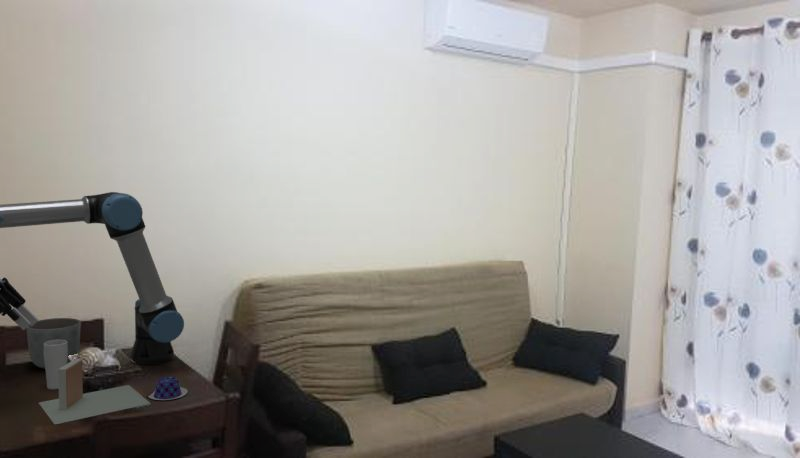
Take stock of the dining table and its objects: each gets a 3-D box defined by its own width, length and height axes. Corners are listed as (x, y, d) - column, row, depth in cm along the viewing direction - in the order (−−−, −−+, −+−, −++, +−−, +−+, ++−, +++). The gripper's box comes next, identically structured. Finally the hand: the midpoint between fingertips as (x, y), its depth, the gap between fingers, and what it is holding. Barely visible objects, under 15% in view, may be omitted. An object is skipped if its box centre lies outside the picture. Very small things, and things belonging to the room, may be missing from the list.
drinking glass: (39, 389, 200) (38, 343, 198) (59, 383, 206) (58, 338, 204) (53, 393, 197) (52, 346, 195) (73, 386, 203) (72, 341, 201)
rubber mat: (128, 386, 204) (128, 384, 204) (150, 405, 189) (150, 403, 189) (38, 404, 187) (38, 402, 187) (54, 426, 172) (54, 424, 172)
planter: (69, 355, 235) (68, 315, 234) (90, 365, 224) (89, 323, 223) (19, 365, 222) (18, 323, 220) (39, 376, 211) (38, 332, 210)
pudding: (173, 404, 192) (173, 387, 191) (139, 399, 194) (138, 383, 194) (195, 391, 203) (195, 375, 203) (162, 387, 206) (162, 371, 205)
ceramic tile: (59, 409, 183) (58, 369, 181) (76, 396, 193) (75, 358, 191) (66, 409, 183) (65, 369, 182) (83, 397, 193) (82, 359, 191)
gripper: (-19, 272, 192) (37, 326, 194) (-57, 281, 175) (5, 341, 177) (-2, 255, 191) (54, 310, 193) (-38, 263, 175) (23, 323, 177)
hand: (31, 324), depth 185 cm, fingers open, 3 cm apart
